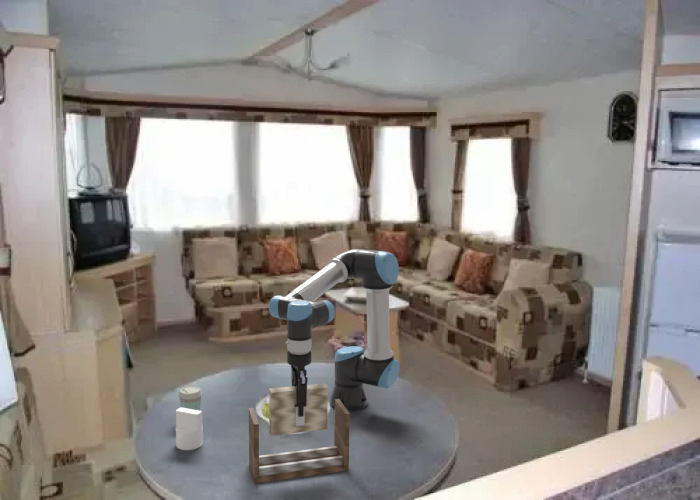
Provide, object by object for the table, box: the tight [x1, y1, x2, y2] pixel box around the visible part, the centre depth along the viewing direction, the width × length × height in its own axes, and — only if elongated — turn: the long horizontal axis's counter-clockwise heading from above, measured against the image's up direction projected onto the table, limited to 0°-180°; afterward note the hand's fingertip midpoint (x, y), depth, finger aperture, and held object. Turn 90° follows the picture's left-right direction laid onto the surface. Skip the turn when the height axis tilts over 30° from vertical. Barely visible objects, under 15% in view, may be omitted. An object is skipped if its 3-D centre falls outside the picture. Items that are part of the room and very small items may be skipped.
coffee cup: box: [178, 385, 203, 411], centre depth 218 cm, size 8×8×12 cm
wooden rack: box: [248, 399, 351, 484], centre depth 185 cm, size 30×12×19 cm, turn 107°
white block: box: [175, 406, 204, 451], centre depth 200 cm, size 9×9×12 cm
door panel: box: [268, 383, 329, 437], centre depth 183 cm, size 18×4×14 cm, turn 107°
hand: (298, 422), depth 184 cm, fingers closed on door panel, 3 cm apart
